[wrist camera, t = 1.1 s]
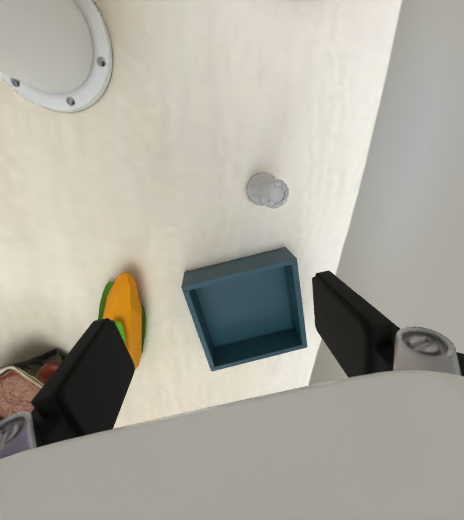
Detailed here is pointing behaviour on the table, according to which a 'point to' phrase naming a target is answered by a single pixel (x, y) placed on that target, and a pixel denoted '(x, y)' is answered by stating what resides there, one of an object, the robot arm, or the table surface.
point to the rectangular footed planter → (25, 382)
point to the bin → (247, 308)
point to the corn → (125, 313)
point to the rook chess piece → (267, 190)
